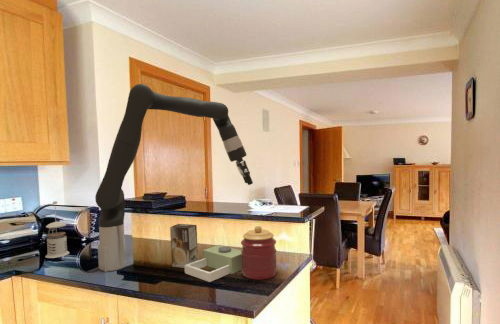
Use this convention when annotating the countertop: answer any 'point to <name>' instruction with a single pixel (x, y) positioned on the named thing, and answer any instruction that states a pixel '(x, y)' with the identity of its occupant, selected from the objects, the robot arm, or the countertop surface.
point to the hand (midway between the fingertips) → (249, 183)
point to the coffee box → (183, 244)
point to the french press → (56, 240)
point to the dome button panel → (216, 263)
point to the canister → (258, 254)
